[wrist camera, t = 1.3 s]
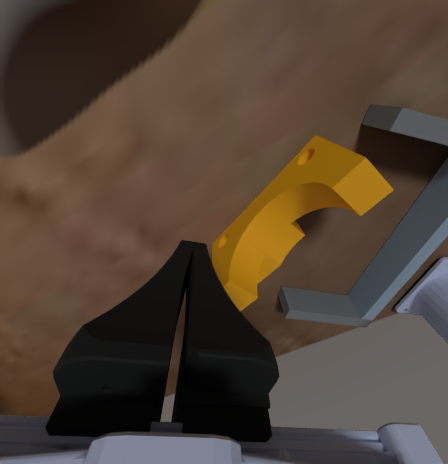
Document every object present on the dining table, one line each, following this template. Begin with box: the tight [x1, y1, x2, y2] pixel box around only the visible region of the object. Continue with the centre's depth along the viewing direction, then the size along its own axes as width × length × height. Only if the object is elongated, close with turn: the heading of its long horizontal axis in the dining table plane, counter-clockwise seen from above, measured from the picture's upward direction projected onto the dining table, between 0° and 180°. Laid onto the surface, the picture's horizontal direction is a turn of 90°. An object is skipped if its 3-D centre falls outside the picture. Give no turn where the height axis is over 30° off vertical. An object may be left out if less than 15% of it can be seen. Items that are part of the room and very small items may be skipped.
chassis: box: [278, 105, 448, 327], centre depth 19 cm, size 9×18×3 cm, turn 168°
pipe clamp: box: [212, 135, 394, 311], centre depth 16 cm, size 12×4×6 cm, turn 141°
